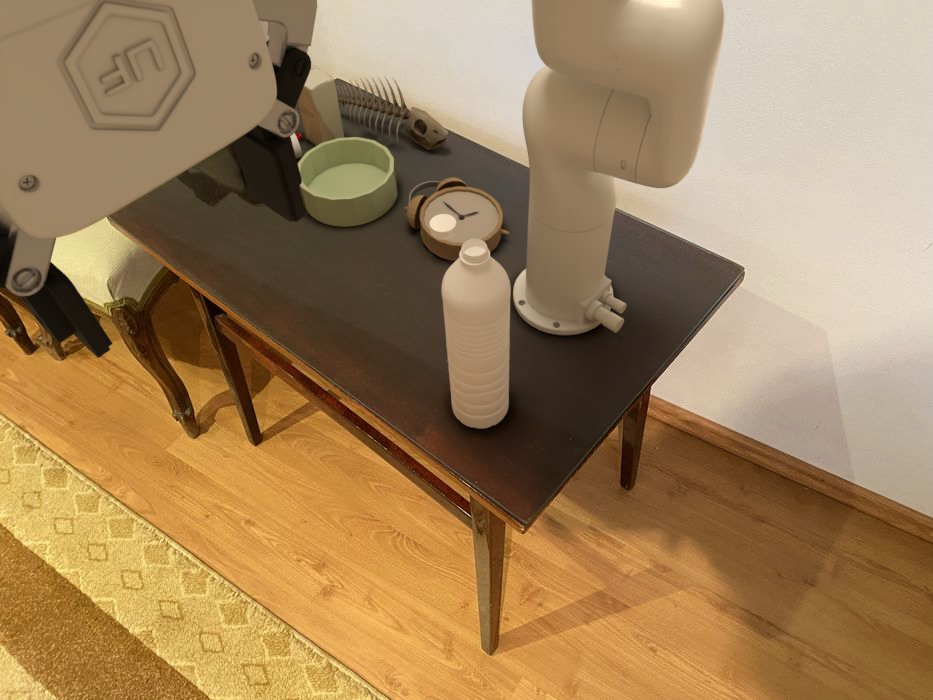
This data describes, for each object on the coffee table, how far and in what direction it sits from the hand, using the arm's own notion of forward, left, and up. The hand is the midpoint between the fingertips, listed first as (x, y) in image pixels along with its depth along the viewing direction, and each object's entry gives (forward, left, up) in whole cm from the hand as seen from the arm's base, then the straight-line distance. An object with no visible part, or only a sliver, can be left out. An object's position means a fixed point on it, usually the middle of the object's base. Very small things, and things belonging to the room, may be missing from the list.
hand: (189, 266), depth 31 cm
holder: (+48, -41, -48) cm, 80 cm away
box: (+61, -48, -48) cm, 91 cm away
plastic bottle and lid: (+10, -26, -48) cm, 56 cm away
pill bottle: (+63, -34, -46) cm, 85 cm away
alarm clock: (+31, -46, -48) cm, 74 cm away
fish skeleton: (+57, -55, -48) cm, 93 cm away
